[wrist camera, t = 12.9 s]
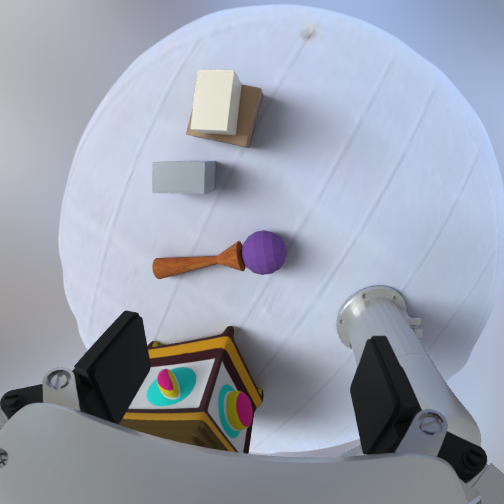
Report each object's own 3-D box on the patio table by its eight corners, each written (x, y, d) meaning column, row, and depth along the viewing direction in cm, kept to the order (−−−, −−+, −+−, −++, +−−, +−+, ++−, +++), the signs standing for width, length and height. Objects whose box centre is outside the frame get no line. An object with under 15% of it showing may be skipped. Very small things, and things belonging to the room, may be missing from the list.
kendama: (144, 253, 39) (279, 229, 34) (163, 247, 45) (283, 226, 40) (152, 291, 40) (286, 276, 35) (171, 282, 46) (290, 266, 41)
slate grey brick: (216, 161, 38) (204, 161, 32) (215, 189, 39) (204, 194, 33) (170, 161, 38) (152, 162, 33) (169, 187, 40) (152, 192, 34)
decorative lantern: (186, 404, 54) (144, 516, 26) (142, 335, 49) (60, 454, 21) (273, 393, 50) (260, 531, 22) (237, 315, 45) (188, 484, 17)
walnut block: (263, 95, 34) (261, 88, 30) (248, 147, 37) (245, 146, 33) (208, 85, 34) (201, 78, 31) (195, 136, 37) (186, 134, 33)
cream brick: (211, 83, 31) (198, 70, 25) (241, 84, 30) (234, 70, 25) (205, 133, 33) (190, 129, 27) (235, 135, 33) (226, 130, 27)
